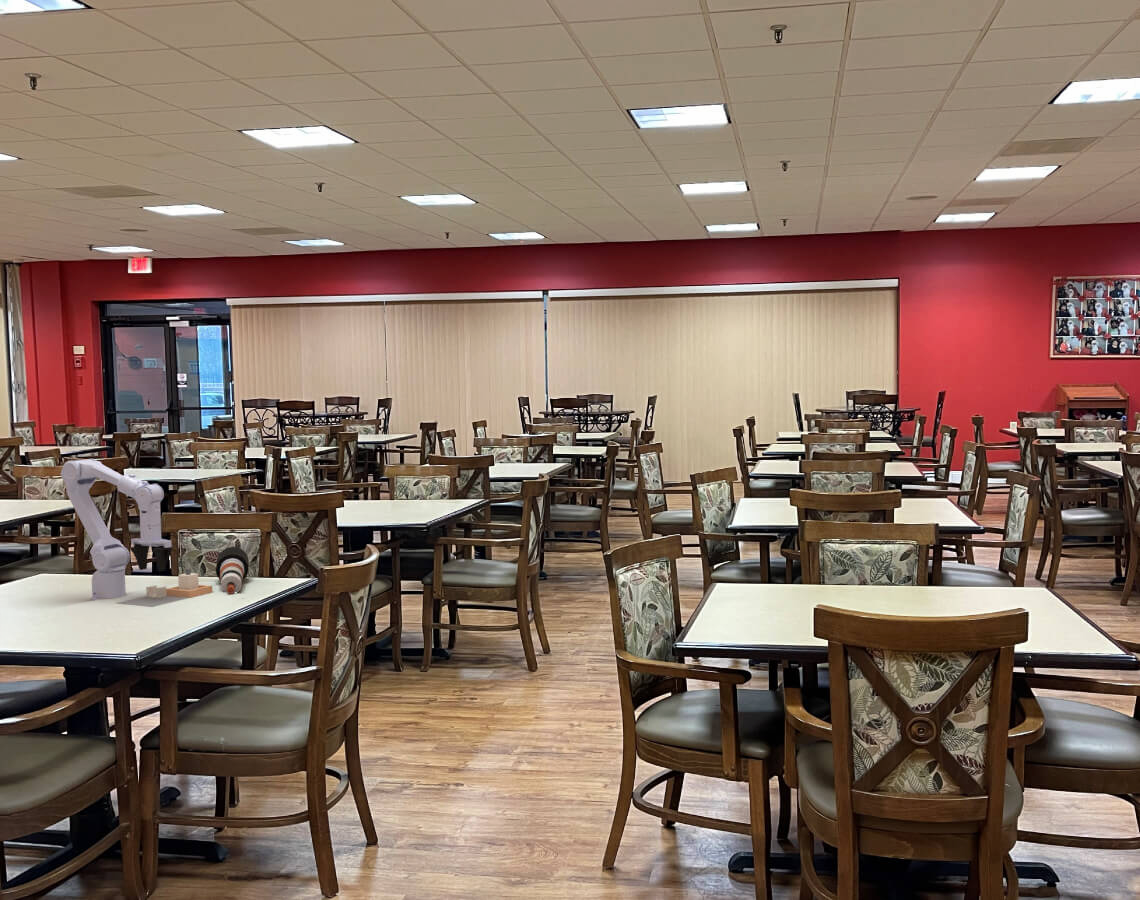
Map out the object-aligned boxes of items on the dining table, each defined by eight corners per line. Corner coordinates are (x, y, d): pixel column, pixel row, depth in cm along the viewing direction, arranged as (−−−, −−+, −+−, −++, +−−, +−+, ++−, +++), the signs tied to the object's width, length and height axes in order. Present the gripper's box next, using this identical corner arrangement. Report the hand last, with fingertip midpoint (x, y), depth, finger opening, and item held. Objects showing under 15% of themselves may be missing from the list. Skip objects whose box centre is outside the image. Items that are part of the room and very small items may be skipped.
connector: (179, 594, 312) (178, 568, 311) (189, 592, 315) (188, 566, 315) (188, 595, 310) (187, 569, 310) (198, 593, 314) (197, 567, 313)
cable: (223, 612, 311) (206, 585, 308) (226, 581, 343) (210, 556, 340) (254, 595, 313) (237, 568, 310) (254, 566, 345) (238, 541, 342)
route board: (115, 606, 301) (115, 603, 301) (179, 591, 322) (179, 588, 322) (152, 610, 294) (152, 606, 294) (215, 594, 315) (214, 591, 315)
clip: (146, 597, 309) (146, 587, 309) (154, 595, 312) (154, 585, 311) (158, 598, 307) (158, 588, 306) (166, 596, 309) (166, 586, 309)
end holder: (165, 595, 311) (165, 588, 311) (188, 590, 319) (188, 583, 319) (189, 597, 306) (189, 591, 306) (212, 592, 315) (212, 585, 314)
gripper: (122, 525, 306) (124, 570, 307) (157, 527, 300) (159, 573, 300) (141, 522, 312) (143, 567, 313) (176, 524, 306) (178, 569, 307)
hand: (152, 570), depth 307 cm, fingers open, 7 cm apart
